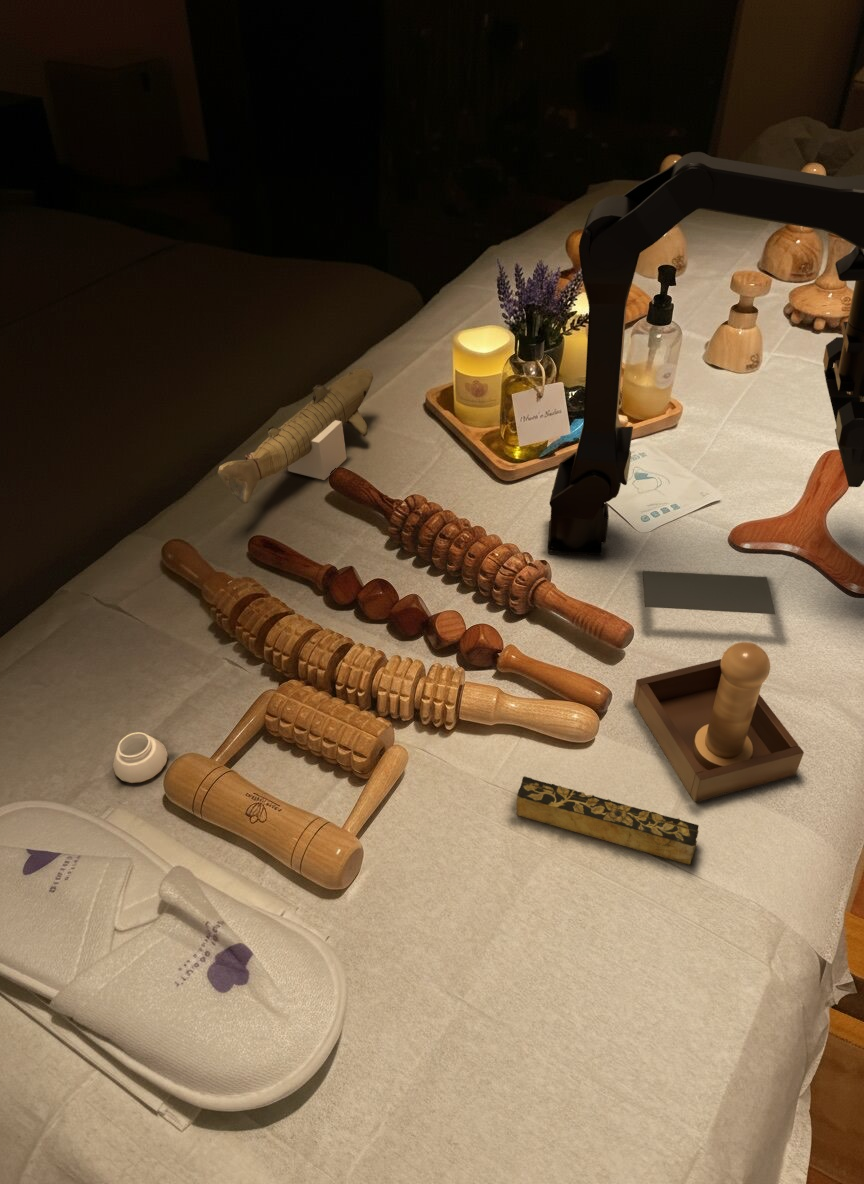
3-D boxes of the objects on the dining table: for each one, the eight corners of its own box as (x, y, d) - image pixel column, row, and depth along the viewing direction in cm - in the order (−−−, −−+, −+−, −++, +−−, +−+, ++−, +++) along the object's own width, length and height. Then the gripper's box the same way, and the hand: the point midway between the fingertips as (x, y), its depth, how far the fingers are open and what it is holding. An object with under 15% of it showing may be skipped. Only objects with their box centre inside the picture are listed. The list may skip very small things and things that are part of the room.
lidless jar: (147, 735, 87) (105, 767, 84) (140, 716, 85) (96, 748, 82) (178, 760, 84) (135, 794, 82) (171, 740, 83) (127, 774, 80)
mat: (646, 632, 95) (647, 628, 95) (642, 573, 103) (643, 570, 102) (780, 640, 93) (781, 636, 93) (766, 580, 101) (766, 576, 100)
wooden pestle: (695, 772, 80) (721, 669, 71) (690, 728, 84) (714, 625, 75) (754, 777, 79) (787, 673, 70) (746, 732, 83) (777, 629, 74)
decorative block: (694, 846, 75) (700, 822, 73) (690, 870, 73) (696, 846, 71) (522, 797, 80) (523, 773, 77) (514, 818, 78) (515, 794, 76)
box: (632, 705, 87) (636, 679, 85) (723, 682, 89) (730, 656, 87) (693, 806, 78) (700, 780, 76) (794, 778, 80) (804, 752, 77)
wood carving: (207, 534, 112) (187, 460, 105) (346, 409, 136) (337, 341, 128) (264, 551, 109) (247, 476, 102) (396, 420, 132) (391, 351, 125)
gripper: (999, 366, 74) (950, 516, 84) (956, 282, 87) (918, 420, 97) (856, 366, 77) (825, 511, 87) (836, 284, 90) (811, 418, 100)
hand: (849, 462), depth 93 cm, fingers open, 9 cm apart
